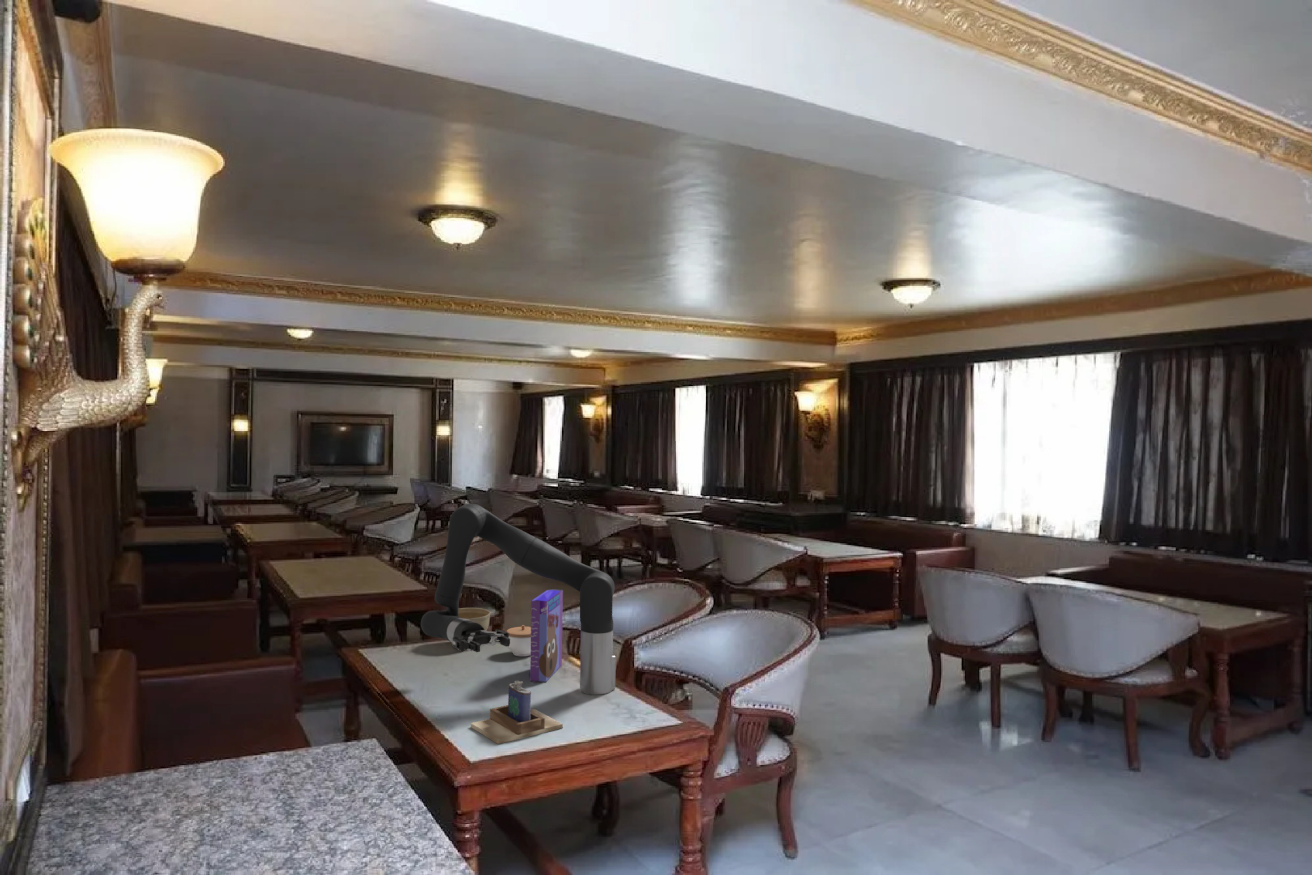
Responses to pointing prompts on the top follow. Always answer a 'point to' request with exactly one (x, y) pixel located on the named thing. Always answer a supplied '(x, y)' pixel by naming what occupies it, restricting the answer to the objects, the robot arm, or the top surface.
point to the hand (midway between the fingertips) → (493, 645)
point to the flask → (519, 702)
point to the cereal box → (546, 635)
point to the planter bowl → (476, 616)
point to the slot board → (514, 725)
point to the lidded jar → (520, 640)
